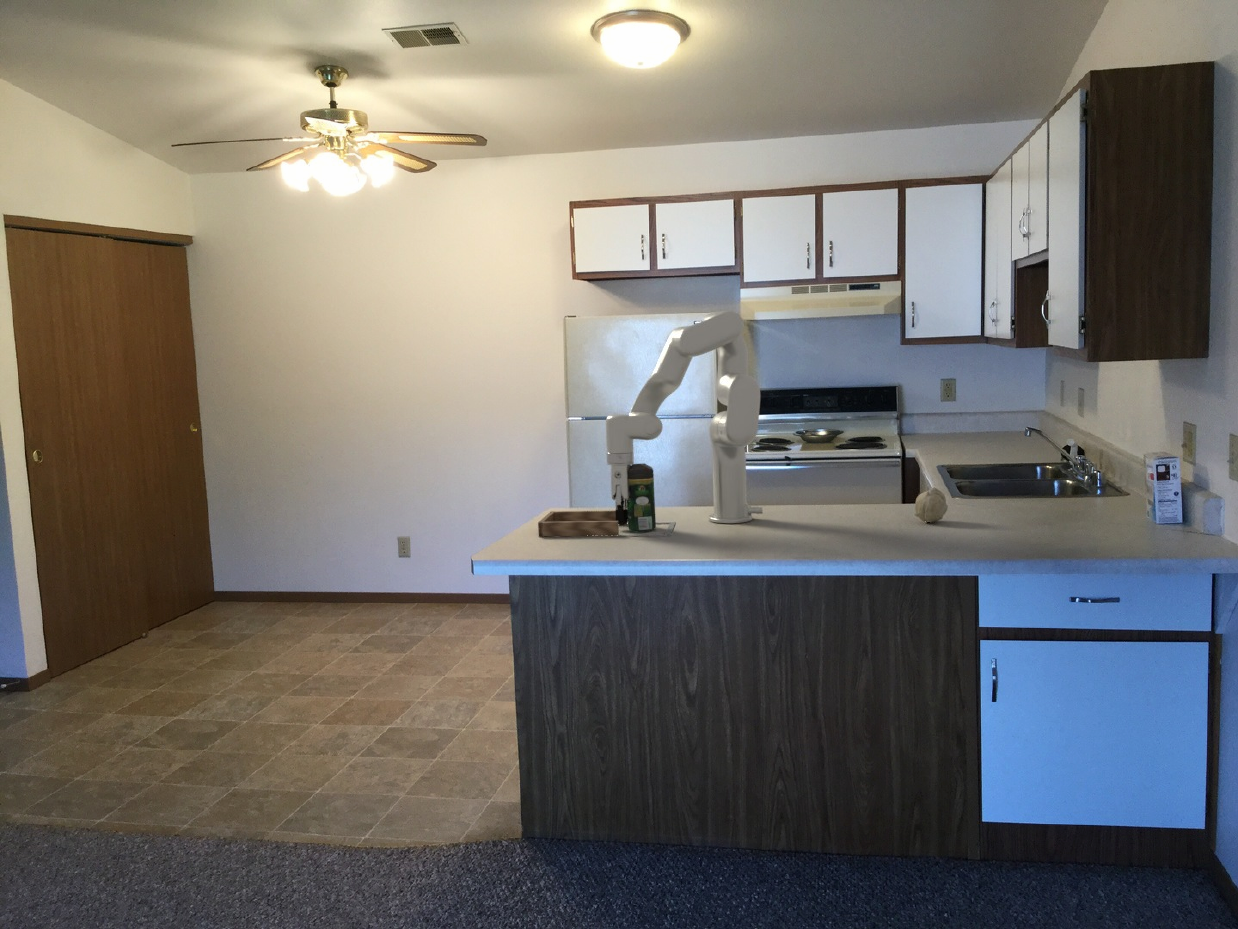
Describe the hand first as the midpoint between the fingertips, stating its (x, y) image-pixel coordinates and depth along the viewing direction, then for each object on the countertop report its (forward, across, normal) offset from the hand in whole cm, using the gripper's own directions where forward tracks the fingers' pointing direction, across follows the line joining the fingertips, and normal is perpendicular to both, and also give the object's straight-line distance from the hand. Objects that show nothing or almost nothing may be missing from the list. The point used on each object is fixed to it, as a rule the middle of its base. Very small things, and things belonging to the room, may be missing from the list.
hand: (621, 523), depth 273 cm
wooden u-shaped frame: (+2, 0, +11) cm, 11 cm away
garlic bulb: (+1, +6, -85) cm, 85 cm away
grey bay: (+2, 0, -7) cm, 7 cm away
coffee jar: (+2, 0, -6) cm, 6 cm away
